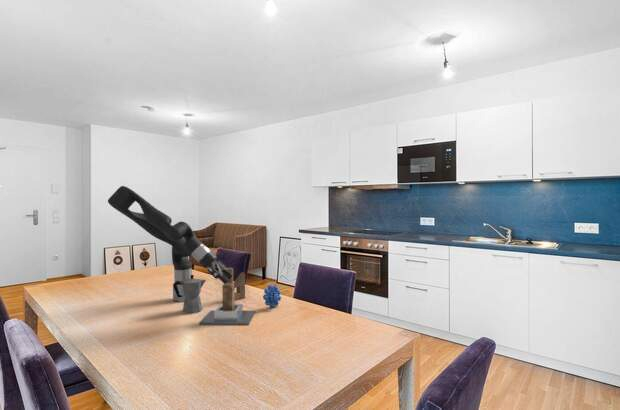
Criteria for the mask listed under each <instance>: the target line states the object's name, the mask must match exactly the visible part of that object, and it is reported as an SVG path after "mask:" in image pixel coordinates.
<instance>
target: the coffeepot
mask: <svg viewBox="0 0 620 410" xmlns="http://www.w3.org/2000/svg"><path fill="white" fill-rule="evenodd" d="M190 276H191V279H187V280H184V281H176V282H175V283H174V282H173V283H174V284H173V283H172V288H173V287H174V289H175V292H176V295H177V297H182V295H179V291H178V287H177V285H183V290H184V295H185V300H184V301H183V308H182V313H184V314H188V315H189V314H190V315H191V314H192V315H193V314H198V313H200V312H201V311H202V310H203V307H202V306H203V305H202V301H201V296H200V294H201V291H202V287H203V286H204V284H205V283H206V282H207V280H206V279H200V278H194V274H192V275H190Z"/></svg>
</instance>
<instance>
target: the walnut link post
mask: <svg viewBox="0 0 620 410" xmlns="http://www.w3.org/2000/svg"><path fill="white" fill-rule="evenodd" d="M221 288H222V294H221V296H222V304H223V310H235V304H236V303H235V293H236V291H235V287H234V282H233V283H226V284H224V283H223V284H222V287H221Z"/></svg>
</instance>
